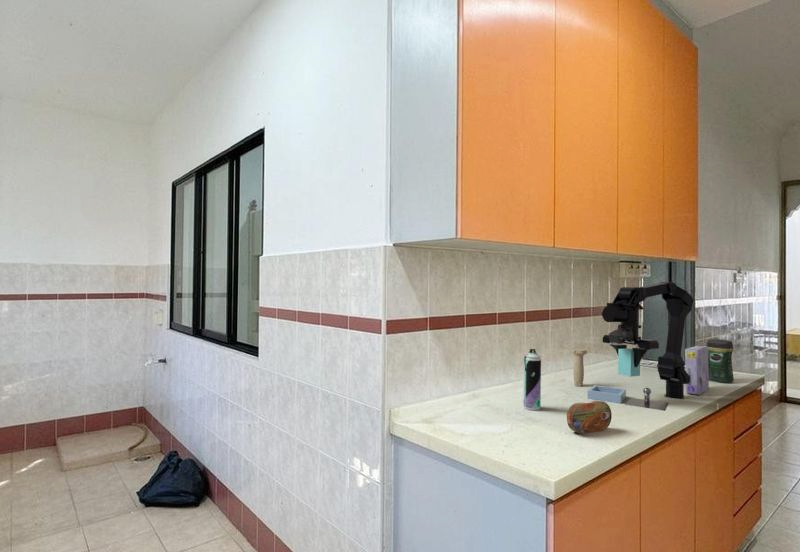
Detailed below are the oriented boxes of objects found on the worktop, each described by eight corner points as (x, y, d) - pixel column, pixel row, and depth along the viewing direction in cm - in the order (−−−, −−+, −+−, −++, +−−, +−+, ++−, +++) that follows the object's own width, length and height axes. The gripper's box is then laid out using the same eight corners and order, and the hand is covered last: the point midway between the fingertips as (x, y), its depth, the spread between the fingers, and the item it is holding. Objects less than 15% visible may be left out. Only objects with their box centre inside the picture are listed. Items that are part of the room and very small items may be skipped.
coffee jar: (736, 382, 201) (736, 340, 201) (727, 384, 196) (728, 341, 197) (712, 378, 209) (712, 337, 209) (703, 379, 205) (703, 338, 205)
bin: (594, 394, 174) (594, 385, 174) (625, 398, 168) (626, 389, 168) (587, 400, 165) (587, 390, 165) (620, 405, 159) (620, 395, 159)
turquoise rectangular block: (627, 373, 166) (627, 348, 166) (640, 375, 161) (640, 350, 161) (618, 373, 163) (618, 348, 163) (630, 376, 159) (630, 350, 159)
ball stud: (630, 399, 167) (630, 382, 167) (668, 404, 160) (668, 387, 161) (625, 406, 158) (625, 388, 158) (665, 412, 151) (665, 393, 151)
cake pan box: (696, 386, 191) (696, 344, 191) (710, 388, 188) (710, 345, 188) (684, 393, 178) (684, 348, 178) (699, 396, 174) (699, 350, 174)
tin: (572, 435, 126) (573, 405, 126) (564, 432, 129) (564, 402, 129) (612, 429, 132) (612, 400, 132) (603, 426, 135) (604, 398, 135)
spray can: (531, 411, 149) (532, 350, 150) (520, 407, 154) (520, 348, 154) (543, 409, 152) (544, 349, 152) (532, 405, 157) (532, 347, 157)
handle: (581, 388, 184) (582, 351, 185) (568, 384, 190) (568, 348, 190) (589, 386, 187) (589, 350, 187) (575, 383, 192) (575, 348, 193)
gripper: (592, 320, 167) (591, 362, 167) (638, 324, 151) (637, 372, 150) (613, 319, 172) (612, 361, 172) (660, 324, 156) (659, 370, 155)
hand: (629, 365), depth 162 cm, fingers closed on turquoise rectangular block, 5 cm apart
